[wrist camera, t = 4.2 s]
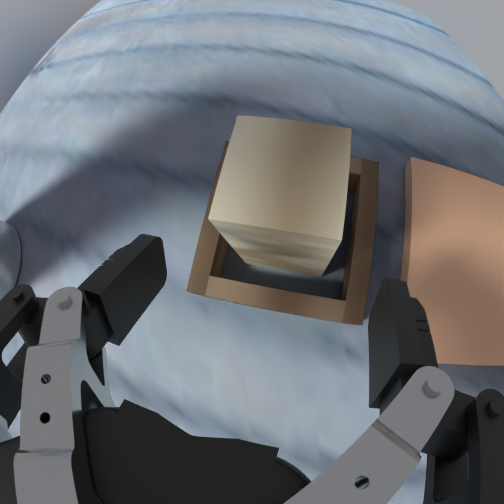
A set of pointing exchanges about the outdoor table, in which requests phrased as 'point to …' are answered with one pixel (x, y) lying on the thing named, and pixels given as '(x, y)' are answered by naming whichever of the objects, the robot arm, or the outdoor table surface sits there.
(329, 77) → the outdoor table surface
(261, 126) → the ash block
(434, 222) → the terracotta tile
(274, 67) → the outdoor table surface
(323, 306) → the walnut pocket frame
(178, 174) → the outdoor table surface
